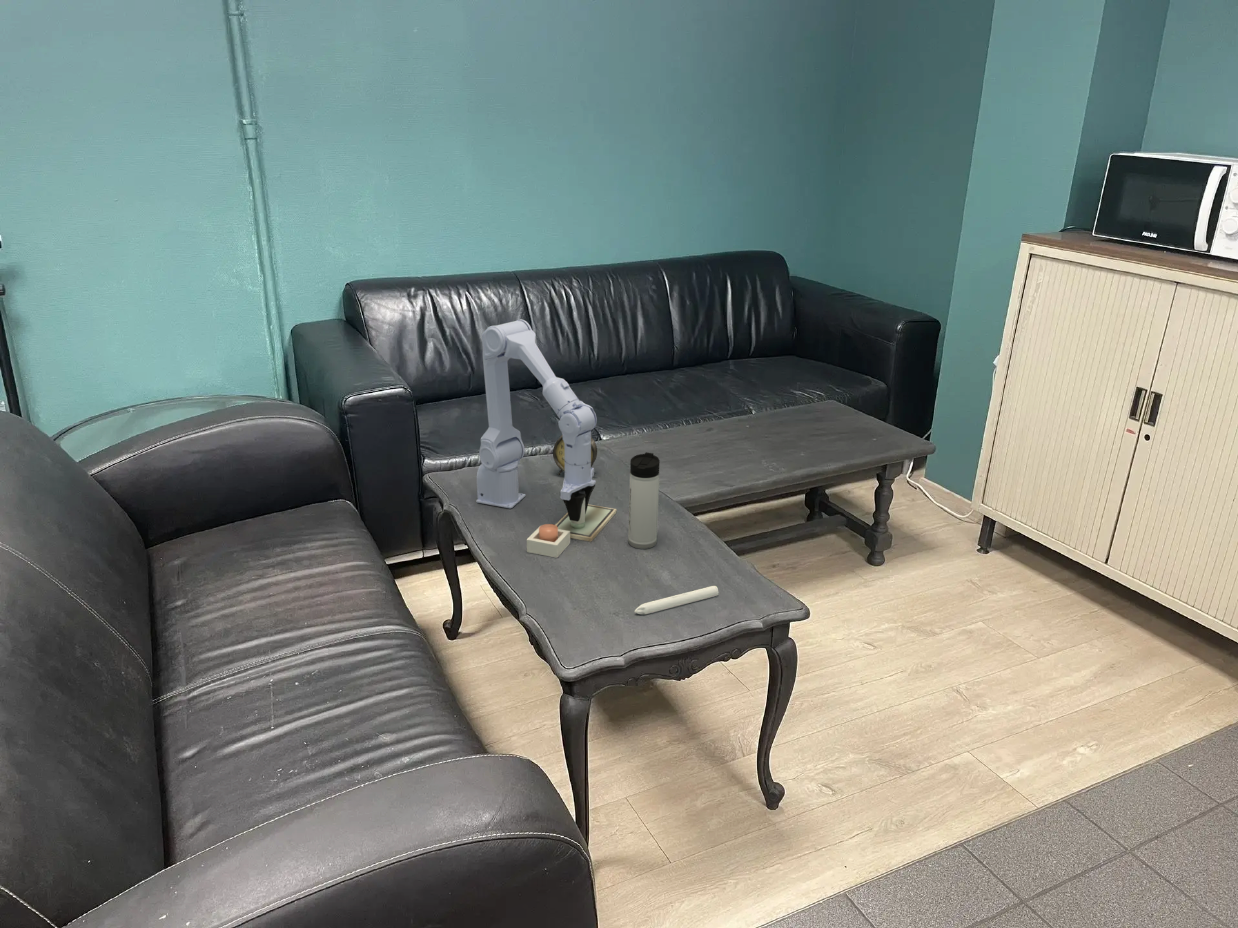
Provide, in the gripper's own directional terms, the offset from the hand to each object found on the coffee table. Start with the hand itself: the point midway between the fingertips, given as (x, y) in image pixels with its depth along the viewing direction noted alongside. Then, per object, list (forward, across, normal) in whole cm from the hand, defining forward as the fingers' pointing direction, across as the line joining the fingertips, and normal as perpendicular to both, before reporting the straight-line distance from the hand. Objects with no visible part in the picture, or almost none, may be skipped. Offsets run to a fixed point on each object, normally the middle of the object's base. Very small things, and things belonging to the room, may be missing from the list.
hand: (577, 516), depth 191 cm
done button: (+1, -10, +2) cm, 11 cm away
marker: (+4, -22, -30) cm, 37 cm away
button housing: (+3, -10, +2) cm, 11 cm away
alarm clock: (+3, +29, +12) cm, 31 cm away
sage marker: (+2, 0, 0) cm, 2 cm away
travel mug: (+3, 0, -16) cm, 16 cm away
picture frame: (+3, +4, 0) cm, 5 cm away
